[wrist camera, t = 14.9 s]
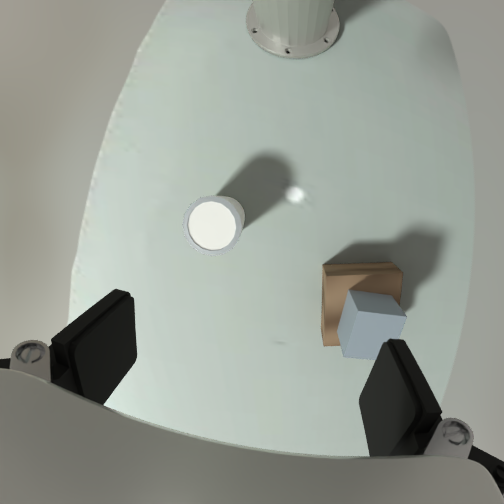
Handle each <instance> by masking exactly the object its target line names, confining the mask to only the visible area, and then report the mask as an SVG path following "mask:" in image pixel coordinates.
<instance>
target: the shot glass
mask: <svg viewBox="0 0 504 504" xmlns="http://www.w3.org/2000/svg"><path fill="white" fill-rule="evenodd" d="M244 222H245V213H244V209H243V208H242V206H241V204H240V203H239V202H238V201H236V200H235V199H234V198H231V197H227V196H206V197H200V198H199V199H197V200H196V201H194V202H193V203H191V204H190V206H189V207H188V209H187V210H186V212H185V214H184V219H183V224H182V225H183V230H184V235H185V238H186V239H187V241H188V242H189V244H190V245H191V247H193V248H194V249H195V250H197V251H198V252H199V253H202V254H206V255H209V256H216V255H223V254H224V253H226V252H228V251H230V250H231V249H233V247H234V246H235V245H236V243H237V242H238V241H239V239H240V236H241V232H242V229H243V226H244Z"/></svg>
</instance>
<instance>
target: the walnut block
mask: <svg viewBox="0 0 504 504" xmlns="http://www.w3.org/2000/svg"><path fill="white" fill-rule="evenodd" d="M402 278H403V272H402V271H401V270H400V269H399V268H397V267H396V266H395V265H394V264H393V263H392V262H380V263H353V264H323V272H322V317H321V332H322V338H323V345H324V346H341V345H340V341H339V337H338V333H337V329H338V326H339V322H340V319H341V315H342V312H343V308H344V304H345V300H346V297H347V293H348V289H350V290H356V291H363V292H370V293H378V294H385V295H392V297H393V298H394V299H395V301H396V302H397V303H398V305H400V297H401V288H402Z"/></svg>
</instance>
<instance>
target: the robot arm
mask: <svg viewBox="0 0 504 504" xmlns="http://www.w3.org/2000/svg"><path fill="white" fill-rule="evenodd" d="M252 1H253V3H252V4H251V6H250V7H249V9H248V12H247V16H246V24H247V29H248V32H249V34H250V36H251V37H252V39H253V40H254V42H255V43H256V44H257V45H258V46H259V47H261V48H262V49H263V50H265V51H267V52H269V53H271V54H273V55H276V56H279V57H283V58H289V59H302V58H309V57H312V56H316V55H318V54H320V53H322V52H324V51H325V50H327V49H328V48H329V47H330V46H331V45H332V44H333V43H334V42H335V40H336V38H337V36H338V32H339V27H340V22H339V17H338V14H337V12H336V10H335V8H334V7H333V4H334V0H252ZM254 32H257V33H254ZM325 41H327V42H328V43H326V42H325ZM287 52H290V54H287ZM51 342H52V344H51V345H50V346H49V347H48V346H47V345H46V344H45V343H43V342H42V341H38V340H28V341H24V342H22V343H20V344H18V345H17V346H16V347H15V348H14V349H13V351H12V354H11V358H9V359H0V504H504V462H503V461H501V460H499V459H497V458H496V457H494V456H492V455H490V454H488V453H486V452H484V451H482V450H480V449H478V448H476V447H475V446H473V445H472V443H473V439H474V436H473V431H472V430H471V429H470V427H469V426H468V425H467V424H466V423H465V422H463V421H461V420H459V419H456V418H446V419H444V420H442V418H441V416H440V415H441V413H442V410H441V408H440V406H439V404H438V402H437V400H436V398H435V396H434V394H433V392H432V390H431V388H430V386H429V384H428V383H427V381H426V379H425V377H424V375H423V373H422V371H421V369H420V367H419V366H418V364H417V362H416V360H415V358H414V356H413V355H412V353H411V351H410V349H409V348H408V346H407V344H406V342H405V341H404V340H401V339H391V338H390V339H388V341H387V342H383V344H382V346H381V348H380V351H379V353H378V356H377V358H376V361H375V363H374V366H373V368H372V370H371V373H370V375H369V377H368V379H367V382H366V384H365V386H364V388H363V390H362V393H361V395H360V398H359V406H360V410H361V415H362V420H363V424H364V429H365V434H366V439H367V444H368V449H369V454H370V457H365V456H327V455H312V454H300V453H290V452H282V451H274V450H267V449H260V448H254V447H248V446H242V445H237V444H231V443H226V442H222V441H217V440H212V439H208V438H204V437H200V436H196V435H192V434H188V433H184V432H180V431H177V430H173V429H170V428H166V427H163V426H160V425H157V424H153V423H150V422H147V421H144V420H141V419H138V418H135V417H133V416H130V415H127V414H124V413H122V412H119V411H116V410H114V409H111V408H109V407H106V406H104V403H105V402H106V401H107V399H108V398H109V396H110V395H111V394H112V392H113V391H114V390H115V388H116V387H117V386H118V384H119V383H120V382H121V380H122V379H123V378H124V376H125V375H126V374H127V372H128V371H129V370H130V368H131V367H132V366H133V364H134V363H135V361H136V358H137V346H136V331H135V309H134V298H133V297H131V295H130V293H129V292H126V291H122V290H118V289H114V290H113V291H112V292H110V293H109V294H108V295H106V296H105V297H104V298H102V299H101V300H100V301H98V302H97V303H96V304H95V305H93V306H92V307H91V308H89V309H88V310H87V311H86V312H84V313H83V314H82V315H80V316H79V317H78V318H77V319H75V320H74V321H73V322H72V323H70V324H69V325H68V326H67V327H65V328H64V329H63V330H62V331H60V333H58V334H57V335H55V336H54V337H53V338H52V339H51Z"/></svg>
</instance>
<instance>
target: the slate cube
mask: <svg viewBox="0 0 504 504" xmlns="http://www.w3.org/2000/svg"><path fill="white" fill-rule="evenodd" d="M406 318H407V316H406V315H405V313H404V312H403V310H402V309H401V308H400V306H399V305H398V303H397V302H396V301H395V299H394V298H393V297H392V295H385V294H378V293H370V292H363V291H356V290H350V289H348V293H347V297H346V300H345V304H344V308H343V312H342V315H341V319H340V322H339V326H338V329H337V333H338V337H339V341H340V345H341V349H342V353H343V357H347V358H357V359H369V360H376V358H377V356H378V353H379V351H380V348H381V346H382V344H383V342H387V341H388V339H390V338H391V339H399V337H400V335H401V332H402V329H403V327H404V324H405V321H406Z"/></svg>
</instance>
